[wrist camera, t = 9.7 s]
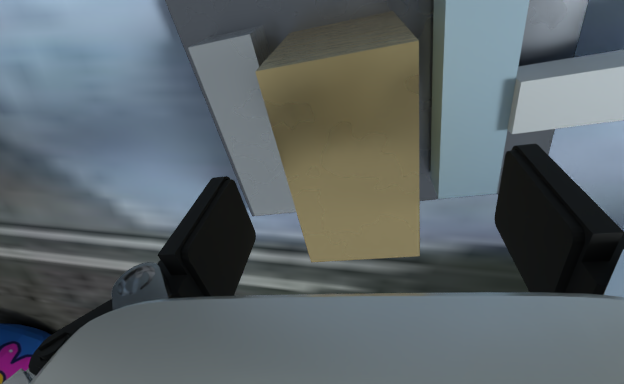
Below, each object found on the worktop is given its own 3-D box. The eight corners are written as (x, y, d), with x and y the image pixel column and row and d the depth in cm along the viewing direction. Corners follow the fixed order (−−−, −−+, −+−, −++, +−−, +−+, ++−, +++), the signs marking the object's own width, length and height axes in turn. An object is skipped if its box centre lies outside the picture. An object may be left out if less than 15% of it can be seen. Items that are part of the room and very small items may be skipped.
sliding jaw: (748, -81, 11) (915, -101, 8) (641, 155, 17) (712, 202, 14) (434, -12, 14) (461, -4, 10) (430, 177, 19) (446, 222, 16)
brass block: (392, 11, 15) (419, 40, 9) (400, 172, 20) (419, 256, 14) (290, 32, 16) (255, 71, 10) (322, 180, 21) (311, 262, 15)
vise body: (601, -112, 12) (676, -135, 9) (531, 180, 20) (560, 216, 17) (174, -3, 16) (136, 4, 13) (255, 207, 24) (242, 240, 21)
